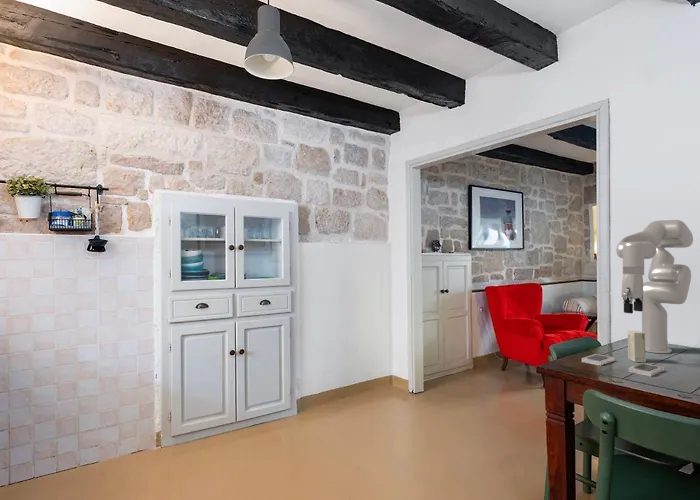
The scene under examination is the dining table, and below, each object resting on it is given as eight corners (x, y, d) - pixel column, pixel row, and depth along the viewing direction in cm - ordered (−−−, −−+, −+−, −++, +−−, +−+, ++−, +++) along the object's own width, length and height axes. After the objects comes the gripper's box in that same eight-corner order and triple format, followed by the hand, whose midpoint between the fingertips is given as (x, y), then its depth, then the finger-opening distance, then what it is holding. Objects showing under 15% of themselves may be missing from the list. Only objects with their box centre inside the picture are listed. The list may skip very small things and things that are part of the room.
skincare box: (646, 362, 174) (646, 333, 174) (634, 362, 175) (634, 332, 175) (638, 358, 180) (638, 330, 180) (627, 358, 181) (627, 329, 181)
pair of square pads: (595, 357, 183) (595, 353, 183) (663, 370, 162) (663, 366, 162) (581, 361, 176) (581, 357, 176) (650, 376, 156) (650, 371, 156)
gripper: (632, 270, 185) (632, 309, 185) (614, 271, 175) (614, 312, 175) (651, 271, 179) (651, 311, 179) (634, 272, 169) (634, 315, 169)
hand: (633, 312), depth 177 cm, fingers open, 9 cm apart
